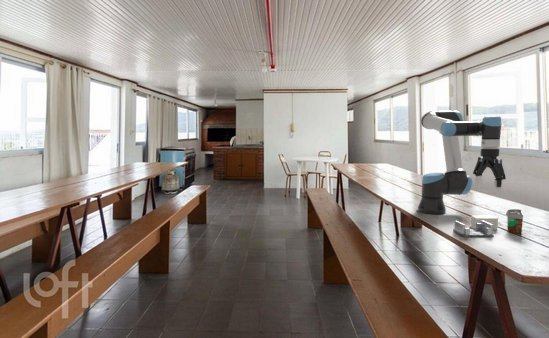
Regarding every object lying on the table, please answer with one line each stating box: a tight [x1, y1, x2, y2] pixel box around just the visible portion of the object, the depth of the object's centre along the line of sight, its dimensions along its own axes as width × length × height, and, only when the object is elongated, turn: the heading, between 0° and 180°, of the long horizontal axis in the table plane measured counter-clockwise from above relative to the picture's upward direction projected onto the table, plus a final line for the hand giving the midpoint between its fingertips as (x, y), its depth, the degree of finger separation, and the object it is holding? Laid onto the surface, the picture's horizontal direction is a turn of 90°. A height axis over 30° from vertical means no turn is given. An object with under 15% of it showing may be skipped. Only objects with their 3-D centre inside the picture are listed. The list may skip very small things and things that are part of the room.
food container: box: [505, 208, 524, 236], centre depth 150 cm, size 12×6×10 cm, turn 145°
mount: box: [452, 220, 495, 238], centre depth 148 cm, size 14×9×6 cm, turn 88°
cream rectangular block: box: [470, 215, 499, 231], centre depth 156 cm, size 10×5×6 cm, turn 84°
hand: (487, 191), depth 155 cm, fingers open, 13 cm apart
